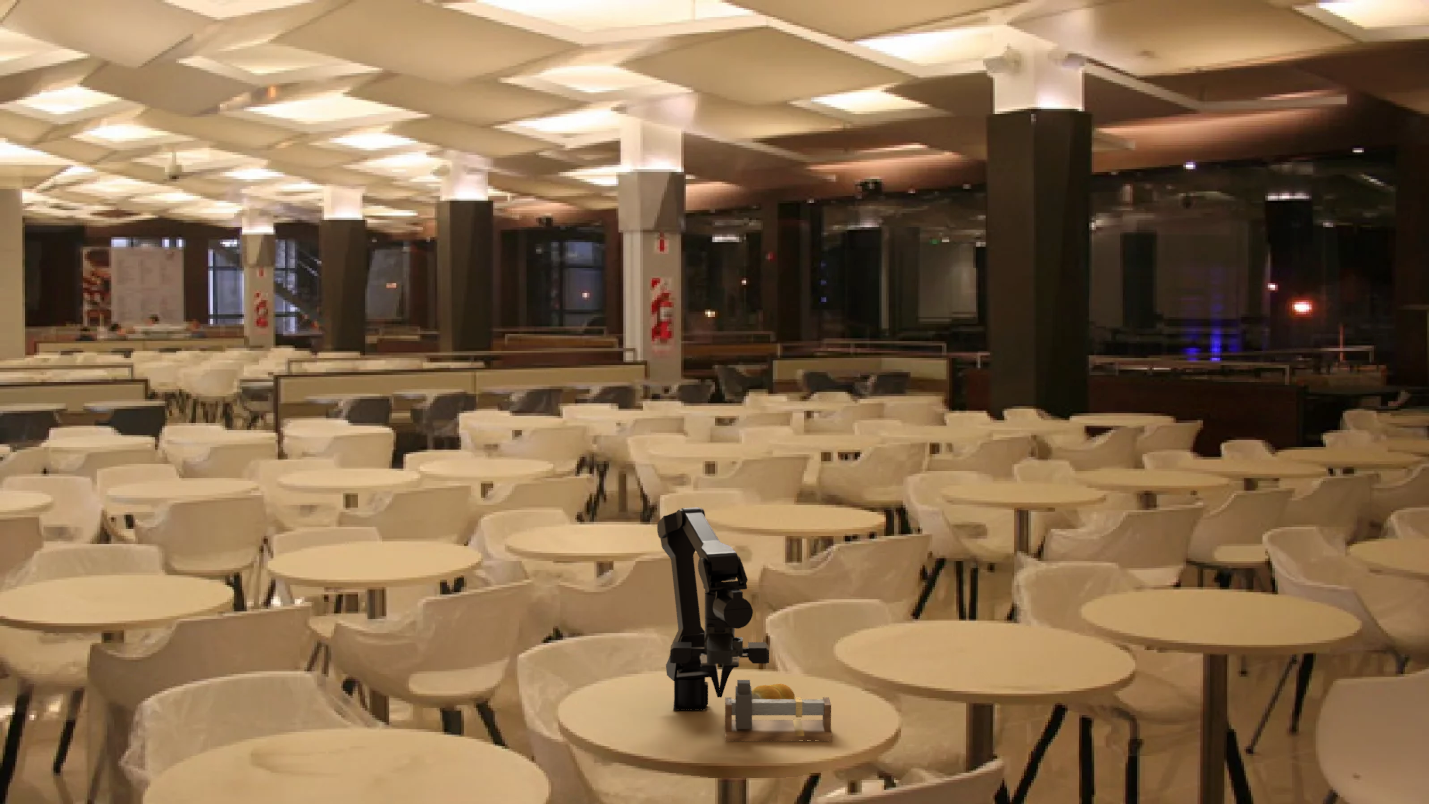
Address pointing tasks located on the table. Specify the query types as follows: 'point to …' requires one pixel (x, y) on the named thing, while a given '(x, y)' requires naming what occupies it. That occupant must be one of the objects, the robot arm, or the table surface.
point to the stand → (780, 728)
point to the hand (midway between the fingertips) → (719, 696)
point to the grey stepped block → (743, 705)
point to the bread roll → (773, 692)
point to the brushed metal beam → (784, 706)
